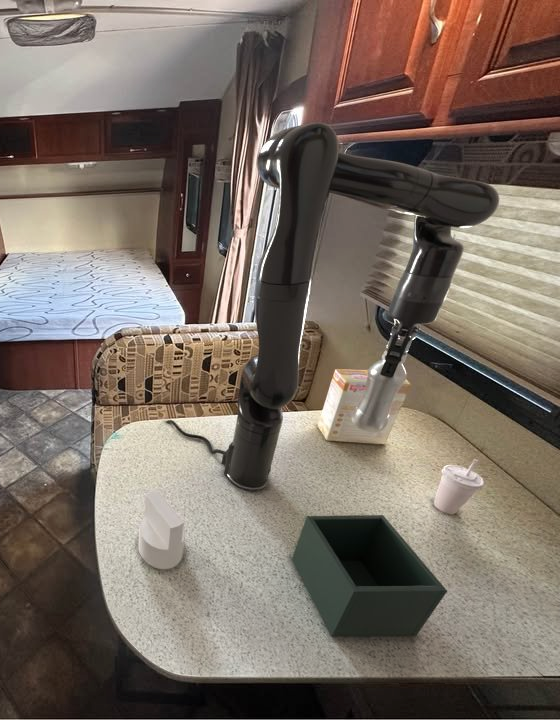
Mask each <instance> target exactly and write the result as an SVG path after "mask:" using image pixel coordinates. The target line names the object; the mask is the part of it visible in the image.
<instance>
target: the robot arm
mask: <svg viewBox="0 0 560 720" xmlns="http://www.w3.org/2000/svg"><path fill="white" fill-rule="evenodd" d="M339 150H340V144H339V138H338V136H337V133H336V131H335V130H334V128H333V127H332V126H330V125H329V124H327V123H325V122H310V123H305V124H300V125H297V126H296V125H295V126H292V127H287V128H285V129H282V130H280V131H278V132H276V133H274V134H273V135H272V136H270V137H269V138H268V139H267V140H265V142H264V144H263V145H262V146H261V148H260V150H259V152H258V156H257V160H256V168H257V172H258V175H259V177H260V179H261V180H262V181H263V182H264V183H265V184H267V186H270V187H272V188H275V189H279V192H278V193H279V194H278V195H279V198H278V207H277V208H278V209H277V218H276V222H275V226H274V229H273V232H272V234H271V237H270V239H269V241H268V243H267V245H266V246H265V248H264V250H263V253H262V255H261V257H260V258H259V262H258V264H257V268H256V274H255V284H254V292H253V294H254V295H253V296H254V297H253V308H254V309H253V310H254V317H255V318H254V319H255V325H256V331H257V338H258V354H255V355H254V356H252V357H251V358H249V359H248V361H247V362H246V363H245V365H244V366H243V369H242V371H241V375H240V382H239V389H238V395H237V417H236V423H235V428H234V433H233V438H232V442H231V443H230V444H228V448H227V449H226V451H225V450H222V449H218V448H215V449H214V448H213V446H212V444H211V442H210V440H209V439H207V437H205V436H202V435H199V434H191V433H188V432H186V431H184V430H183V429H182V428H181V427H180V426H179V425H178V424H177V423H176V422H175V421H174V420H172V419H168V420H166V421H165V423H166V424H171V425H173V426H174V428H175V429H176V430H177V431H178V432H179V434H181V435H182V436H184V437H187V438H191V439H198V440H202V441H204V442H205V443H206V445H207V448H208V450H209V452H210V453H211V454H212V455H213V454H214V455H215V454H220V455H222V458H221V465H223V466H224V471H223V475H224V476H225V477H227V479H228V481H230V482H231V484H233V485H234V486H235V487H237V488H239V489H241V490H244V491H248V492H259V491H261V490H263V489H265V488H266V487H267V485H268V481H269V477H270V475H271V471H272V470H271V469H272V463H273V460H274V456H275V452H276V449H277V445H278V441H279V437H280V433H281V429H282V426H283V422H284V414H283V409H282V408H284V407H285V406H287V405H288V404H290V403H291V402H292V401H293V399H294V398H295V396H296V395H297V393H298V389H299V376H300V375H299V374H300V373H299V372H300V371H299V370H300V366H299V365H300V350H301V341H302V337H303V332H304V326H305V322H306V321H305V320H306V315H307V309H308V303H309V299H310V294H311V289H312V282H313V276H314V267H315V260H316V254H317V249H318V243H319V238H320V233H321V227H322V220H323V216H324V213H325V210H326V209H325V208H326V204H327V202H328V197H329V194H332V195H334V196H335V195H336V196H339V197H342V198H346V199H349V200H352V201H356V202H359V203H362V204H365V205H368V206H372V207H374V208H375V207H376V208H378V209H382V210H386V211H388V212H392V213H396V214H401V215H407V216H414V222H413V234H412V250H411V252H410V255H409V258H408V261H407V263H406V266H405V269H404V271H403V273H402V275H401V277H400V279H399V281H398V283H397V286H396V288H395V290H394V294H393V297H392V299H391V301H390V304H389V307H388V309H387V315H388V316H389V317H391V318H392V319H394V320H397V321H399V322H395V323H394V324H393V326H392V328H391V330H390V338H389V340H388V342H387V345H386V348H389V349H388V352H387V354H386V355H385V357H384V358H385V362H384V365H383V367H382V370H381V373H380V374H381V375H382V376H386V377H389V378H392V377H393V376H394V373H395V371H396V369H397V366H398V364H399V363H400V362H401V361H402V359H401V358H402V356H403V353H404V352H406V353H408V352H409V349H410V347H411V345H412V342H413V340H414V339H416V338H417V334H418V332H419V329H420V326H416V325H417V324H418V325H420V324H421V325H429V324H432V323H434V322H435V321H436V320H437V318H438V316H439V313H440V311H441V309H442V307H443V305H444V302H445V300H446V298H447V295H448V293H449V290H450V288H451V284H452V281H453V277H454V274H455V272H456V270H457V268H458V265H459V263H460V261H461V259H462V256H463V253H464V249H465V247H464V245H463V243H462V242H460V241H458V240H456V239H455V238H454V237H452V228H456V229H466V228H472V227H476V226H478V225H481V224H483V223H484V222H486V221H487V220H489V219H490V218H491V217H492V216H493V215H494V214H495V212H496V211H497V210H498V208H499V205H500V194H499V193H498V191H497V190H496V188H495V187H494V186H492V185H491V184H489V183H486V182H482V181H478V180H474V179H473V180H472V179H468V178H461V177H456V176H449V175H443V174H439V173H435V172H433V171H431V170H428V169H424V168H422V167H418V166H415V165H411V164H407V163H404V162H399V161H392V160H388V159H387V160H386V159H379V158H373V157H365V156H358V155H354V154H353V155H352V154H348V153H344V152H340V151H339ZM391 351H393V352H397V353H400V355H399V356H395V355H390V353H391Z"/></svg>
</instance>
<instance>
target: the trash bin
mask: <svg viewBox="0 0 560 720" xmlns="http://www.w3.org/2000/svg"><path fill="white" fill-rule="evenodd" d="M291 562H292V563H293V566H294V567H295V569H296V571H297V573H298V575H299V577H300V579H301V582H302V583H303V585H304V587H305V589H306V590H307V593H308V594H309V596H310V598H311V600H312V602H313V604H314V606H315V608H316V610H317V612H318V614H319V615H320V618H321V619H322V621H323V623H324V625H325V628H326V629H327V631H328V633H329V635H330V636H331V638H332V637H333V638H337V637H340V638H342V637H343V638H344V637H347V638H349V637H351V638H352V637H353V638H355V637H357V638H358V637H359V638H360V637H369V638H371V637H373V638H374V637H376V638H379V637H381V638H382V637H405V638H406V637H409V638H410V637H417V636H418V634H419V633H420V631H421V630H422V628H423V627H424V625H425V624H426V623H427V622H428V620H429V618H430V617H431V616H432V614H433V613H434V611H435V610H436V608H437V607H438V606H439V604H440V603H441V602H442V600H443V598H444V597H445V595H446V594H447V593H448V590H447V588H446V587H445V586H444V585H443V583H441V581H440V580H439V579H438V578H437V577H436V575H435V574H434V573H433V572H432V571H431V570H430V568H429V567H428V566H427V565H426V564H425V562H424V561H423V560H422V559H421V558H420V557H419V556H418V554H417V553H416V551H414V550H413V549H412V547H411V546H410V545H409V544H408V542H407V541H406V540H405V539H404V538H403V536H402V535H401V533H399V532H398V530H397V529H396V528H395V527H394V526H393V525H392V524H391V522H390V521H389V520H388V519H387V518H386V517H385V515H383V514H362V515H361V514H359V515H357V514H355V515H306V517H305V519H304V522H303V525H302V528H301V531H300V534H299V537H298V539H297V542H296V546H295V548H294V551H293V554H292V556H291Z"/></svg>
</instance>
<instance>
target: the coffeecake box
mask: <svg viewBox="0 0 560 720" xmlns="http://www.w3.org/2000/svg"><path fill="white" fill-rule="evenodd" d="M368 370H369V369H346V368H345V369H344V368H342V369H340V368H335V369H334V372H333V375H332V379H331V381H330V385H329V389H328V391H327V395H326V398H325V401H324V404H323V407H322V411H321V414H320V417H319V421H318V424H317V427H318V429H319V431H320V432H321V433H322V435H323V438H324V439H325V441H328V442H331V441H332V442H345V443H346V442H347V443H348V442H349V443H359V444H360V443H361V444H374V445H386V443H387V442H388V439H389V437H390V434H391V432H392V430H393V428H394V426H395V423H396V421H397V418H398V415H399V413H400V411H401V409H402V406H403V404H404V401H405V399H406V397H407V395H408V392H409V390H410V387H411V386H412V384H411V383H410V382H409V381H408V380H407V379H406V380H405V382H404V383H403V385H402V386H401V388H400V389H399V391H398V392H397V394H396V396H395V398H394V400H393V402H392V405H391V409H390V412H389V419H388V424H387V426H386V427H385V428H384V430H382V431H380V432H377V433H372V432H367V431H364V430H361V429H359V428H358V427H356V426H355V425H354V424H353V422H352V413H353V411H354V410H355V408H356V407H357V406H358V404H359V402H360V400H361V398H362V396H363V393H364V389H365V386H366V381H367V375H368Z"/></svg>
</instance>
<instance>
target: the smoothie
mask: <svg viewBox="0 0 560 720" xmlns="http://www.w3.org/2000/svg"><path fill="white" fill-rule="evenodd" d="M478 462H479V460H478V459H477V458H474V459H473V460H472V462H471V464H470V465H469V466H468V468H467V467H465V466H461V465H458V464H447V465H445V466H443V468H442V469H441V478H440V481H439V485H438V488H437V491H436V495H435V497H434V500H433V505H434V507H435V508H436V509H438V510H439V511H441V512H442V513H445V514H447V515H455V514H456V513H457V512H458V511H459V510H460V509H461V508H462V507H463V506H464V505H465V504H466V503H467V502H468V501H469V499H471V497H473V495H474V494H475V493H477V491H479V490H481V489H483V487H484V485H485V480H484V479H483V478H482V476H481V475H480V474H478V473H476V472H475V471H473V470H474V469H475V467H476V465H477V463H478Z"/></svg>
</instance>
